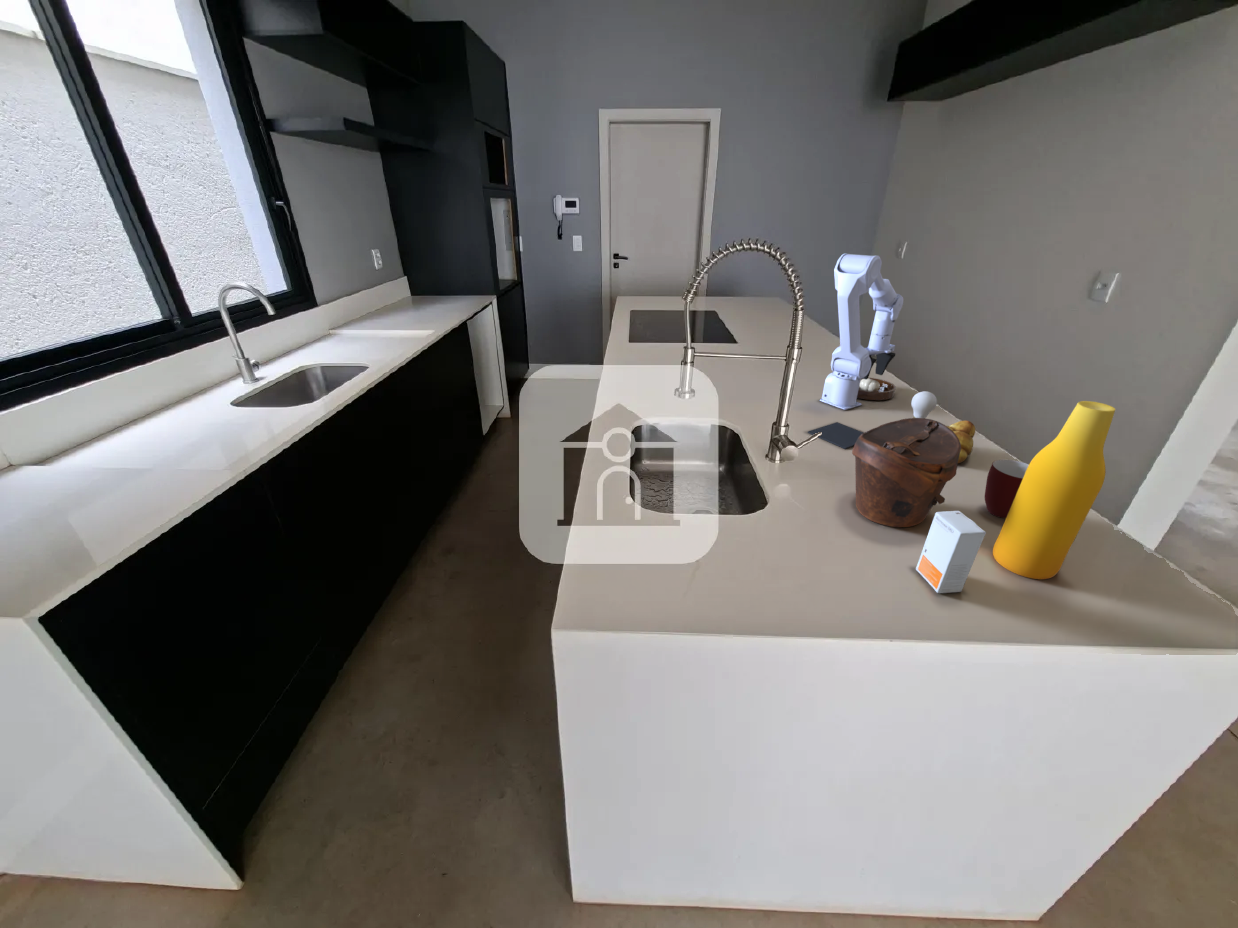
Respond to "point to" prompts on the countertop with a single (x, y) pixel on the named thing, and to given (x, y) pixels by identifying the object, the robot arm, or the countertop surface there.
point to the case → (903, 470)
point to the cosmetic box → (949, 551)
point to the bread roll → (964, 437)
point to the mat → (838, 434)
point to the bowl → (883, 393)
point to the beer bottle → (1056, 495)
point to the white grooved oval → (869, 385)
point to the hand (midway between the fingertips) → (871, 376)
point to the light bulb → (923, 404)
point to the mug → (1003, 485)
